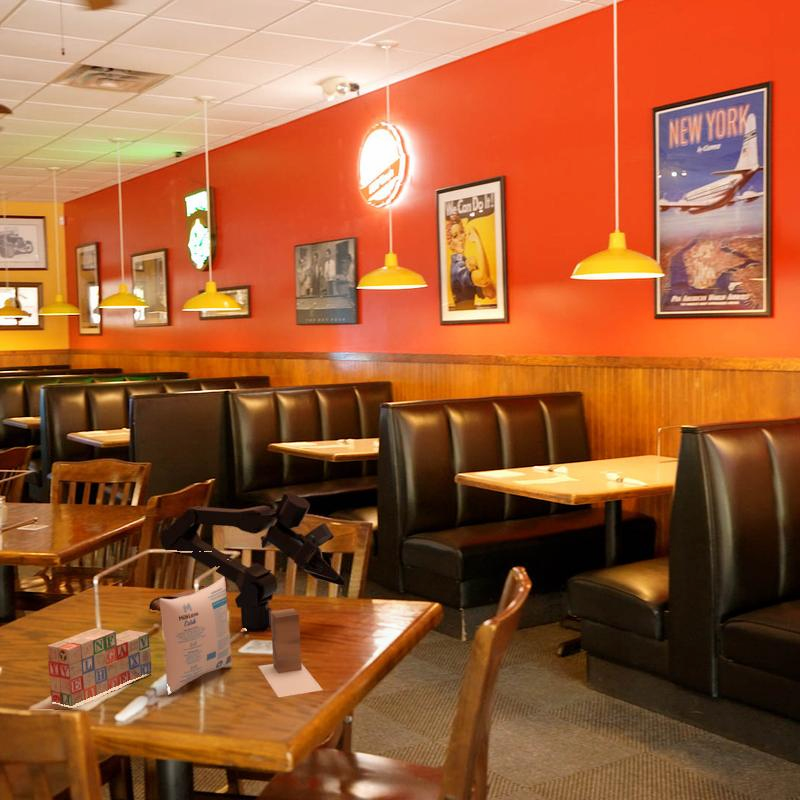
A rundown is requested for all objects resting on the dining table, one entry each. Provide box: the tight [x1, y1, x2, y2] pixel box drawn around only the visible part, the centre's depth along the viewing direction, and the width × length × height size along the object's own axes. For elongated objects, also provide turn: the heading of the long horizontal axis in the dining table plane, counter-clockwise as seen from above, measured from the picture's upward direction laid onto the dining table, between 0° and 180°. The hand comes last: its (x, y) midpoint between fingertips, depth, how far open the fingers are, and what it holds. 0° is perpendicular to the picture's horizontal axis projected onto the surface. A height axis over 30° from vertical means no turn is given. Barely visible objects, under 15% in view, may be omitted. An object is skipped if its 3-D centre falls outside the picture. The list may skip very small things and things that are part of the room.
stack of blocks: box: [47, 627, 152, 706], centre depth 206 cm, size 21×6×12 cm, turn 148°
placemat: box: [257, 662, 323, 698], centre depth 207 cm, size 20×9×1 cm, turn 20°
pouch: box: [159, 576, 233, 693], centre depth 208 cm, size 8×19×20 cm, turn 144°
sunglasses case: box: [148, 585, 205, 611], centre depth 267 cm, size 18×7×7 cm
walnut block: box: [270, 608, 302, 674], centre depth 213 cm, size 5×5×12 cm
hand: (340, 581), depth 233 cm, fingers open, 9 cm apart
